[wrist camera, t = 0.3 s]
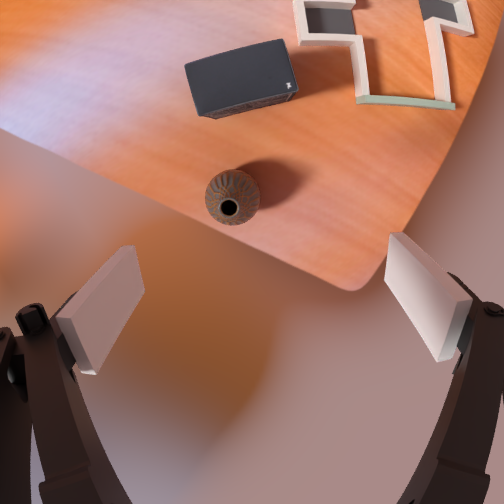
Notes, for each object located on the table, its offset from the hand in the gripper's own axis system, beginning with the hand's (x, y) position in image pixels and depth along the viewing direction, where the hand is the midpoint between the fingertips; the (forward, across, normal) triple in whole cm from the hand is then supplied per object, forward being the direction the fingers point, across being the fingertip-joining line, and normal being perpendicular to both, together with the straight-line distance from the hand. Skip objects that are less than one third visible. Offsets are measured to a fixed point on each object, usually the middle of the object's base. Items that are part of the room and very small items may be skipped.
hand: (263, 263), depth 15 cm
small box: (+28, -1, +12) cm, 30 cm away
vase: (+28, -4, -2) cm, 28 cm away
